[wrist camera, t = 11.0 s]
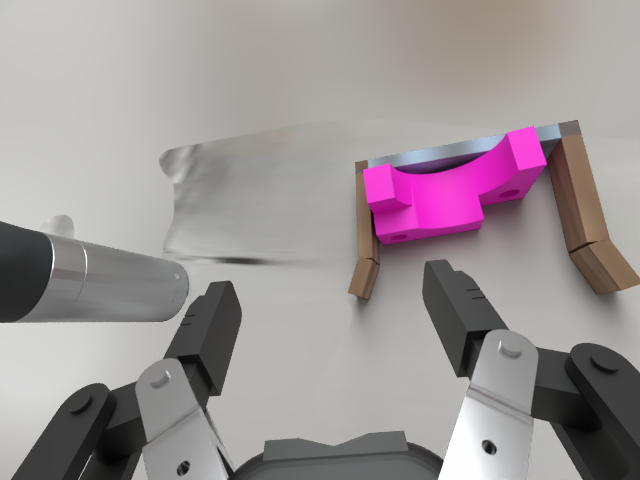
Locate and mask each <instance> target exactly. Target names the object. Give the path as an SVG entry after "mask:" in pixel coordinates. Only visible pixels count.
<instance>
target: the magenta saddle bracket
mask: <svg viewBox="0 0 640 480" xmlns="http://www.w3.org/2000/svg"><path fill="white" fill-rule="evenodd" d="M546 165H547V163H546V160H545V157H544V154H543V151H542V148H541V146H540V143H539V140H538V137H537V134H536V131H535V128H534V126H532V127H528V128H524V129H520V130H516V131H512V132H508V133H507V134H506V135H505V137H504V138H503V139H502V140H501V141H500V142H499V143H498V144H497V145H496V146H495V147H494V148H493V149H491V150H490V151H489V152H487V153H486V154H484V155H483V156H481V157H479V158H478V159H476V160H474V161H472V162H470V163H467V164H465V165H463V166H460V167H457V168H454V169H451V170H447V171H443V172H439V173H433V174H420V175H419V174H407V173H403V172H400V171H398V170H396V169H394V168H393V167H392V166H391V165H390V163H388V164H384V165H380V166H376V167H372V168H368V169H365V170H363V174H364V181H365V188H366V196H367V203H368V205H369V207H370V208H371V210H372V212H373V214H374V221H375V228H376V235H377V237H378V238H379V240H380V241H381V242H382V244H383V245H386V244H392V243H398V242H404V241H410V240H416V239H422V238H428V237H434V236H439V235H445V234H451V233H457V232H463V231H469V230H475V229H480V227H481V225H482V223H483V220H484V216H483V213H482V209H481V206H483V205H489V204H494V203H499V202H504V201H510V200H515V199H520V198H524V196H525V195H526V193H527V192H528V191H529V189H530V188H531V186H532V185H533V183H534V182H535V181H536V179H537V178H538V176H539V175H540V173H541V172H542V171H543V169H544V168H545V166H546Z"/></svg>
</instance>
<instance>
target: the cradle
mask: <svg viewBox="0 0 640 480" xmlns="http://www.w3.org/2000/svg"><path fill="white" fill-rule="evenodd" d="M535 131H536V134H537V137H538V140H539V143H540V146H541V148H542V151H543V154H544V157H545V159H547V162H548V167H549V171H550V176H551V180H552V184H553V189H554V193H555V198H556V202H557V206H558V211H559V215H560V219H561V224H562V228H563V233H564V237H565V241H566V246H567V250H568V252H574V253H571V254H569V256H570V257H571V259H572V260H573V262H574V263H575V264H576V266H577V267H578V269H579V270H580V272H581V273H582V274H583V276H584V277H585V279H586V280H587V281H588V283H589V284H590V286H591V287H592V289H593V290H594V291H595V293H596V294H602V293H608V292H614V291H620V290H624V289H627V288H630V287H633V286H636V285H639V284H640V278H639V276H638V275H637V274H636V273H635V271H634V270H633V269H632V267H631V266H630V265H629V264H628V262H627V261H626V260H625V258H624V257H623V256H622V255H621V253H620V252H619V251H618V250H617V248H616V247H615V246H614V244H613V243H612V242H611V241H610V238H609V234H608V230H607V227H606V223H605V219H604V216H603V212H602V208H601V204H600V201H599V197H598V193H597V190H596V186H595V182H594V179H593V175H592V171H591V167H590V164H589V160H588V156H587V153H586V149H585V145H584V142H583V138H582V134H581V130H580V127H579V123H578V120H574V121H569V122H564V123H558V124H553V125H548V126H544V127H538V128H535ZM506 134H507V133H506ZM506 134H501V135H496V136H490V137H485V138H480V139H475V140H469V141H464V142H459V143H454V144H449V145H443V146H438V147H433V148H428V149H422V150H417V151H412V152H407V153H401V154H396V155H391V156H386V157H380V158H375V159H370V160H365V161H360V162H355V168H356V197H357V226H358V255H359V259H358V262H357V265H356V268H355V271H354V275H353V278H352V281H351V284H350V287H349V290H348V293H351V294H353V295H356V296H359V297H362V298H366V299H370V295H371V292H372V289H373V286H374V282H375V279H376V276H377V273H378V270H379V266H378V265H377V264H379V248H378V237H377V235H376V228H375V221H374V214H373V212H372V210H371V208H370V207H369V205H368V203H367V196H366V188H365V181H364V174H363V170H365V169H368V168H372V167H376V166H380V165H384V164H388V163H390V165H391V166H392V167H393V168H394V169H396V170H398V171H400V172H403V173H407V174H419V175H420V174H433V173H439V172H443V171H447V170H451V169H454V168H457V167H460V166H463V165H465V164H467V163H470V162H472V161H474V160H476V159H478V158H479V157H481V156H483V155H484V154H486V153H487V152H489V151H490V150H491V149H493V148H494V147H495V146H496V145H497V144H498V143H499V142H500V141H501V140H502V139H503V138H504V137H505V135H506Z"/></svg>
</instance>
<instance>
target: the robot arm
mask: <svg viewBox="0 0 640 480" xmlns="http://www.w3.org/2000/svg"><path fill="white" fill-rule="evenodd" d="M187 292H188V278H187V275H186V272H185V270H184V269H183V267H182V266H181V265H180V264H178V263H176V262H172V261H168V260H164V259H159V258H154V257H151V256H146V255H142V254H137V253H133V252H128V251H124V250H119V249H115V248H110V247H106V246H101V245H97V244H93V243H88V242H83V241H79V240H74V239H69V238H65V237H60V236H56V235H51V234H47V233H43V232H38V231H33V230H29V229H24V228H21V227H18V226H14V225H11V224H8V223H4V222H1V221H0V323H24V322H25V323H26V322H27V323H30V322H31V323H33V322H34V323H38V322H40V323H41V322H163V321H167V320H169V319H171V318H173V317H174V316H175V315H176V314H177V313H178V312H179V311H180V309H181V308H182V306H183V304H184V302H185V299H186V297H187ZM422 293H423V300H424V304H425V306H426V308H427V311H428V313H429V315H430V317H431V320H432V322H433V324H434V326H435V329H436V331H437V333H438V335H439V338H440V340H441V342H442V344H443V347H444V349H445V351H446V353H447V356H448V358H449V360H450V363H451V365H452V367H453V369H454V372H455V374H456V376H457V377H468V378H469V380H470V385H469V387H468V390H467V392H466V396H465V399H464V402H463V405H462V408H461V411H460V414H459V417H458V420H457V423H456V426H455V429H454V433H453V436H452V439H451V442H450V445H449V448H448V451H447V454H446V457H445V460H443V459H442V458H440V457H439V456H438V455H436V454H435V453H433V452H431V451H430V450H428V449H426V448H424V447H422V446H419V445H416V444H414V443H410V442H406V438H405V433H404V431H393V432H379V433H368V434H366V435H363V436H361V437H358V438H355V439H353V440H350V441H347V442H345V443H342V444H339V445H337V446H330V445H325V444H321V443H317V442H313V441H308V440H304V439H299V438H297V439H283V440H269V441H265V446H264V452H263V453H261V454H259V455H257V456H255V457H253V458H251V459H250V460H248V461H247V462H246V463H244V464H243V465H242V466H240V467H239V468H238V469H237V470H236V469H235V467H234V465H233V463H232V461H231V459H230V457H229V455H228V453H227V451H226V449H225V447H224V445H223V442H222V440H221V438H220V436H219V433H218V431H217V429H216V427H215V424H214V422H213V420H212V418H211V416H210V413H209V411H208V409H207V407H206V405H207V402H208V399H209V396H220V395H221V391H222V388H223V384H224V381H225V377H226V373H227V370H228V366H229V363H230V359H231V356H232V352H233V349H234V345H235V341H236V338H237V334H238V331H239V327H240V324H241V317H242V312H241V307H240V304H239V301H238V298H237V295H236V292H235V290H234V287H233V284H232V282H231V281H220V282H212V283H210V285H209V287H208V289H207V291H206V293H205V295H203V296H199V297H198V298H197V299H196V300H195V301H194V302H193V303H192V304H191V305H190V306H189V308H188V310H187V312H186V314H185V318H183V320H182V322H181V324H180V325H181V326H180V327H179V328H178V330H177V332H176V334H175V336H174V338H173V340H172V342H171V344H170V346H169V348H168V350H167V352H166V354H165V356H164V358H163V360H160V361H158V362H156V363H154V364H152V365H151V366H150V367H148V368H147V369H146V370H145V371H144V372H143V373H142V374H141V376H140V377H139V379H138V381H136V382H134V383H131V384H128V385H125V386H123V387H120V388H117V389H115V390H112V391H110V390H109V389H108V388H107V386H105V385H104V384H100V383H95V384H91V385H88V386H85V387H83V388H81V389H80V390H78V391H77V392H75V393H74V394H72V395H71V396H70V397H69V398H68V399H67V400H66V401H65V402H64V403H63V404H62V405H61V406H60V408H59V409H58V411H57V412H56V414H55V415H54V417H53V418H52V420H51V421H50V423H49V424H48V426H47V427H46V429H45V430H44V431H43V433H42V435H41V436H40V437H39V439H38V440H37V442H36V443H35V445H34V446H33V448H32V449H31V451H30V452H29V454H28V455H27V457H26V458H25V460H24V461H23V463H22V464H21V466H20V467H19V469H18V470H17V472H16V473H15V474H14V476H13V477H12V479H11V480H78V478H79V477H80V474H81V473H82V471H83V469H84V467H85V465H86V463H87V461H88V459H89V457H90V455H92V456H91V458H90V460H89V462H88V464H87V466H86V468H85V470H84V472H83V473H82V475H81V477H80V479H79V480H131V479H132V476H133V473H134V471H135V468H136V466H137V463H138V461H139V458H140V455H141V453H143V459H144V463H145V468H146V473H147V477H148V480H526V479H527V471H528V464H529V456H530V449H531V441H532V434H533V425H534V418H536V419H540V420H545V421H549V422H550V424H551V426H552V427H553V429H554V431H555V433H556V434H557V436H558V438H559V440H560V441H561V443H562V445H563V446H564V448H565V450H566V452H567V453H568V455H569V457H570V458H571V460H572V462H573V464H574V465H575V467H576V469H577V471H578V472H579V474H580V476H581V477H582V479H583V480H640V373H639V372H638V371H637V369H636V368H635V367H634V366H633V365H632V364H631V363H630V362H629V361H628V360H627V359H625V358H624V357H623V356H621V355H620V354H618V353H617V352H615V351H613V350H611V349H609V348H606V347H604V346H601V345H597V344H592V343H581V344H577V345H575V346H574V347H573V348H572V350H571V352H570V353H565V352H559V351H554V350H548V349H543V348H538V347H535V346H534V345H533V344H532V343H531V341H529V340H528V339H527V338H525V337H524V336H522V335H520V334H519V333H516V332H514V331H510V330H509V329H508V327H507V326H506V325H505V323H504V322H503V320H502V319H501V318H500V316H499V315H498V313H497V312H496V311H495V309H494V308H493V306H492V305H491V304H490V302H489V301H488V299H486V296H485V295H484V294H483V292H482V291H481V290H480V288H479V287H478V285H477V284H476V282H475V281H474V280H473V278H471V277H470V276H468V275H467V274H465V273H464V272H462V271H454V270H453V269H452V267H451V266H450V264H449V262H448V261H447V260H435V261H426V263H425V268H424V279H423V290H422Z"/></svg>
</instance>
